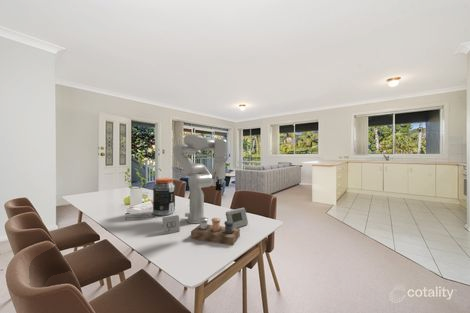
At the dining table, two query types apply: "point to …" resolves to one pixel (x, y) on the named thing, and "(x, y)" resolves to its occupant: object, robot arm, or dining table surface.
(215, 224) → the terracotta peg
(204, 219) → the grey peg
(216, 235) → the walnut block
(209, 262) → the dining table surface
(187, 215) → the robot arm
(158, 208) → the supplement tub
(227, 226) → the charcoal peg
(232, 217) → the digital clock
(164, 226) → the electrical switch
